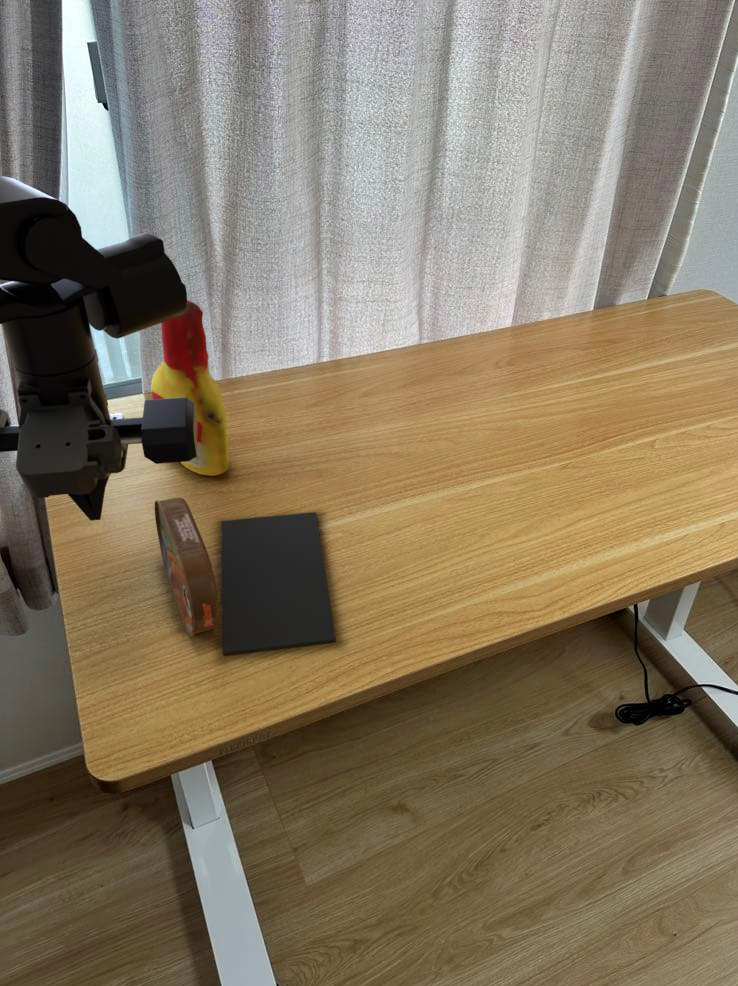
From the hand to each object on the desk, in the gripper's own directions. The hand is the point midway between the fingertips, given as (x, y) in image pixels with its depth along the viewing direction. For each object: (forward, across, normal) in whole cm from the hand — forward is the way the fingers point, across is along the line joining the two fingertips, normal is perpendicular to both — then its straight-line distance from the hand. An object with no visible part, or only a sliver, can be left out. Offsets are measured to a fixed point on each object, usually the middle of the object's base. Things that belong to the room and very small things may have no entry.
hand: (96, 517), depth 69 cm
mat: (+11, +15, +1) cm, 18 cm away
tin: (+11, +7, 0) cm, 13 cm away
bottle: (+11, +7, +22) cm, 26 cm away
